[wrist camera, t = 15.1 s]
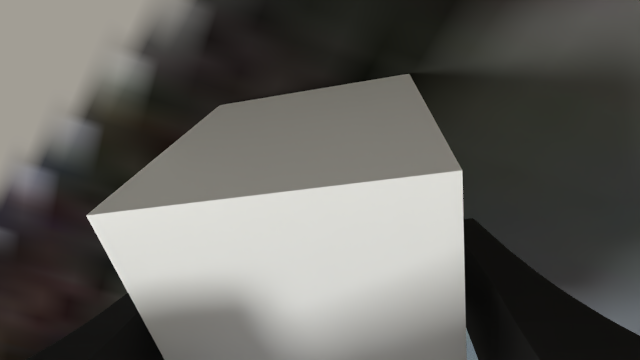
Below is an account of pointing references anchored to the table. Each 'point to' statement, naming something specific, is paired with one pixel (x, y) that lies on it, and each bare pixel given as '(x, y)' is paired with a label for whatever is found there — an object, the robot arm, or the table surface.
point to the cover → (298, 231)
